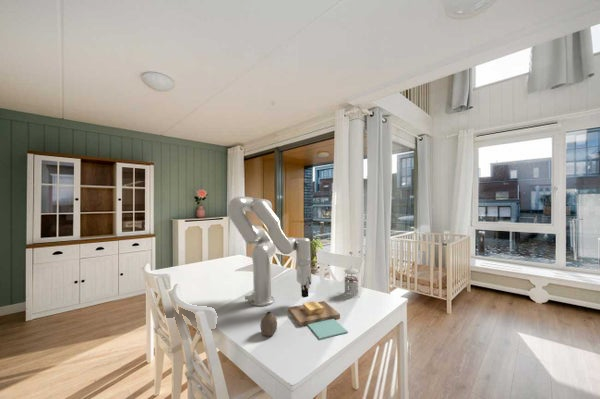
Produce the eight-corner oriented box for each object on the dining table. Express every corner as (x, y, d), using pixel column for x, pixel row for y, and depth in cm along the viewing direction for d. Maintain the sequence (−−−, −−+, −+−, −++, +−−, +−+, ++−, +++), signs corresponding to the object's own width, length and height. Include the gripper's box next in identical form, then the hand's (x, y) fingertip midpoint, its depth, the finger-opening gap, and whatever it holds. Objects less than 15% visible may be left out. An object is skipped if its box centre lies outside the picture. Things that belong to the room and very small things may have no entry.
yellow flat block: (310, 315, 114) (309, 310, 114) (303, 308, 121) (303, 303, 121) (323, 312, 116) (323, 307, 116) (316, 306, 124) (316, 301, 124)
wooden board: (300, 326, 108) (300, 322, 108) (288, 311, 122) (288, 307, 122) (340, 318, 115) (339, 314, 115) (324, 304, 130) (324, 301, 130)
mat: (319, 339, 98) (319, 338, 98) (307, 325, 109) (307, 324, 109) (347, 332, 103) (347, 331, 103) (333, 319, 114) (333, 318, 114)
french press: (347, 298, 137) (347, 254, 137) (338, 291, 148) (338, 249, 148) (363, 296, 140) (363, 252, 140) (353, 289, 151) (353, 248, 151)
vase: (261, 329, 106) (260, 309, 106) (277, 329, 106) (277, 308, 106) (259, 339, 99) (259, 317, 99) (277, 338, 99) (276, 316, 99)
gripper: (292, 259, 135) (293, 293, 135) (302, 266, 121) (303, 303, 121) (304, 258, 138) (305, 290, 138) (316, 264, 124) (317, 300, 124)
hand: (305, 296), depth 130 cm, fingers closed
